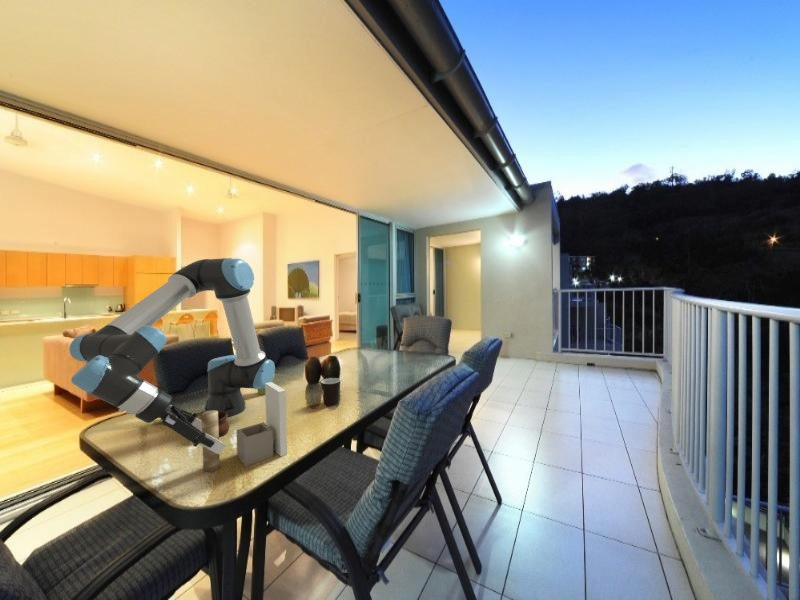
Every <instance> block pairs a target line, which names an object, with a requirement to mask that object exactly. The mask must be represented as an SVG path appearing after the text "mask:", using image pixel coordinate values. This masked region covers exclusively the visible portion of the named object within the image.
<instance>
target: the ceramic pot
mask: <svg viewBox="0 0 800 600" xmlns="http://www.w3.org/2000/svg"><path fill="white" fill-rule="evenodd" d="M220 415H221V416H220ZM227 416H228V414H227V413H226V412H218V427H219V438H222V437H224V436H226V435H228V432H229V429H230V422H229V421H228V420H227V418H228V417H227Z"/></svg>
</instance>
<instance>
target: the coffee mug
mask: <svg viewBox="0 0 800 600" xmlns="http://www.w3.org/2000/svg"><path fill="white" fill-rule="evenodd" d="M341 382H342V381H341V378H338V377H337V378H336V377H329V378H325V379H322V380H320V384H321V385H320V386H321V392H322V401H323V405H324V406H328V407H330V406H336V405H338V404H339V403H340V402H339V400H340V390H341Z"/></svg>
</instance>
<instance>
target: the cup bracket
mask: <svg viewBox="0 0 800 600" xmlns="http://www.w3.org/2000/svg"><path fill="white" fill-rule="evenodd" d="M286 393H287V392H286V389H284V388H282V387H281V386H280V385H278V384H276V383H274V382H273V383H272V382H269V383H265V395H264V396H265V422H260V423H256V424H252V425H249V426H246V427H243V428H239V429H236V454H237V455H236V456H237V458H239V460H240V461H241V463H242V464H243V466H244V467H247V466H250V465H252V464H253V465H254V464H256V463H259V462H262V461H264V460H267V459H270V458H271V457H274V451H275V452H276V454H277V455H278V456H279V457H281V458H282V457H284V456H286V455H288V437H287V436H288V435H287V434H288V432H287V431H288V430H287V429H288V427H287V425H288V424H287V396H286V395H287V394H286Z"/></svg>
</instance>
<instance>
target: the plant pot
mask: <svg viewBox="0 0 800 600" xmlns="http://www.w3.org/2000/svg"><path fill="white" fill-rule="evenodd" d="M275 375H276V374H275V373H274V376H273V379H272V381H271V382H272V383H274V380H275V379H274V378H275ZM257 394H258V395H260V396H266V395H265V388H262V389H257Z"/></svg>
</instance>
